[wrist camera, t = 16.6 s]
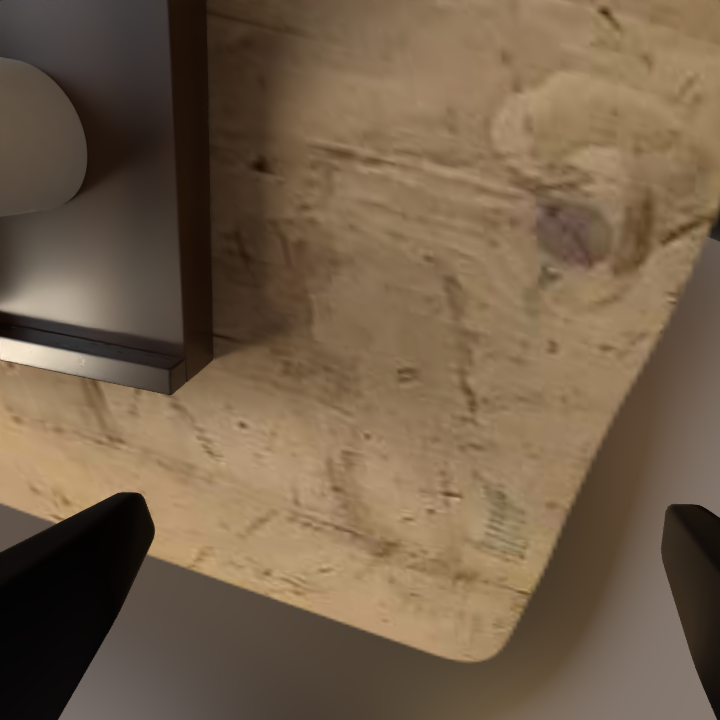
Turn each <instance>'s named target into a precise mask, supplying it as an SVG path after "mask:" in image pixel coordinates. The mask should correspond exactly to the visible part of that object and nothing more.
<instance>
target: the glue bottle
mask: <svg viewBox="0 0 720 720" xmlns="http://www.w3.org/2000/svg"><path fill="white" fill-rule="evenodd" d="M86 168H87V145H86V138H85V134H84V130H83V127H82V124H81V121H80V119H79V116H78V114H77V112H76V110H75V108H74V106H73V105H72V103H71V101H70V100H69V98H68V97H67V96H66V94H65V93H64V92H63V90H62V89H61V88H60V87H59V86H58V85H57V84H56V82H54V81H53V80H52V79H51V78H50V77H49V76H48V75H46V74H45V73H44V72H42V71H41V70H39V69H38V68H36V67H34V66H32V65H30V64H28V63H25V62H22V61H18V60H14V59H8V58H3V57H0V217H2V216H8V215H15V214H21V213H27V212H33V211H40V210H46V209H51V208H56V207H59V206H61V205H63V204H65V203H66V202H68V201H69V200H70V199H71V198H72V197H74V196H75V194H76V193H77V192H78V190H79V189H80V187H81V185H82V183H83V180H84V177H85V173H86Z"/></svg>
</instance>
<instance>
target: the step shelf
mask: <svg viewBox="0 0 720 720" xmlns="http://www.w3.org/2000/svg"><path fill="white" fill-rule="evenodd" d="M0 57H3V58H8V59H14V60H18V61H22V62H25V63H28V64H30V65H32V66H34V67H36V68H38V69H39V70H41V71H42V72H44V73H45V74H46V75H48V76H49V77H50V78H51V79H52V80H53V81H54V82H56V84H57V85H58V86H59V87H60V88H61V89H62V90H63V92H64V93H65V94H66V96H67V97H68V98H69V100H70V101H71V103H72V105H73V106H74V108H75V110H76V112H77V114H78V116H79V119H80V121H81V124H82V127H83V130H84V134H85V138H86V145H87V168H86V173H85V177H84V180H83V183H82V185H81V187H80V189H79V190H78V192H77V193H76V194H75V196H74V197H72V198H71V199H70V200H69V201H68V202H66V203H65V204H63V205H61V206H59V207H56V208H51V209H46V210H40V211H33V212H27V213H21V214H15V215H8V216H2V217H0V360H2V361H7V362H11V363H16V364H21V365H26V366H31V367H36V368H40V369H45V370H50V371H55V372H60V373H65V374H70V375H74V376H79V377H84V378H89V379H94V380H99V381H104V382H108V383H113V384H118V385H123V386H128V387H133V388H138V389H142V390H147V391H152V392H157V393H162V394H167V395H172V394H174V393H175V392H176V391H177V390H178V389H179V388H181V387H182V386H183V385H184V384H185V383H186V382H188V381H189V380H190V379H191V378H193V377H194V376H195V375H196V374H197V373H198V372H200V371H201V370H202V369H203V368H204V367H205V366H207V365H208V364H209V363H210V362H211V361H213V324H212V274H211V223H210V172H209V122H208V71H207V21H206V0H0Z"/></svg>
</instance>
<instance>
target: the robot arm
mask: <svg viewBox="0 0 720 720" xmlns="http://www.w3.org/2000/svg"><path fill="white" fill-rule="evenodd" d="M154 535H155V527H154V523H153V521H152V518H151V515H150V512H149V510H148V507H147V504H146V501H145V499H144V497H143V496H142V495H141V494H139V493H135V492H121V493H117V494H115V495H113V496H111V497H109V498H107V499H105V500H103V501H101V502H99V503H97V504H95V505H93V506H91V507H89V508H87V509H85V510H83V511H81V512H79V513H77V514H75V515H73V516H71V517H69V518H67V519H65V520H63V521H61V522H59V523H58V524H56V525H54V526H52V527H50V528H48V529H46V530H44V531H42V532H40V533H38V534H36V535H34V536H32V537H30V538H28V539H26V540H24V541H22V542H20V543H18V544H16V545H14V546H12V547H10V548H8V549H6V550H4V551H2V552H0V720H58V719H59V717H60V715H61V713H62V712H63V710H64V708H65V707H66V705H67V703H68V701H69V700H70V698H71V696H72V694H73V693H74V691H75V689H76V688H77V686H78V684H79V682H80V681H81V679H82V677H83V675H84V674H85V672H86V670H87V668H88V667H89V665H90V663H91V661H92V660H93V658H94V656H95V654H96V653H97V651H98V649H99V648H100V646H101V644H102V642H103V641H104V639H105V637H106V635H107V634H108V632H109V630H110V628H111V626H112V625H113V623H114V621H115V619H116V618H117V615H118V613H119V612H120V610H121V608H122V606H123V604H124V601H125V599H126V597H127V595H128V593H129V590H130V588H131V586H132V584H133V582H134V580H135V578H136V576H137V573H138V571H139V569H140V567H141V565H142V563H143V561H144V558H145V556H146V554H147V552H148V550H149V548H150V546H151V543H152V541H153V539H154ZM661 553H662V560H663V564H664V567H665V571H666V574H667V578H668V581H669V584H670V587H671V591H672V594H673V597H674V601H675V604H676V607H677V610H678V614H679V617H680V620H681V624H682V627H683V630H684V633H685V637H686V640H687V643H688V646H689V650H690V653H691V656H692V659H693V662H694V665H695V668H696V670H697V673H698V675H699V678H700V680H701V683H702V686H703V688H704V690H705V693H706V695H707V697H708V700H709V702H710V704H711V707H712V709H713V711H714V714H715V716H716V718H717V720H720V518H719V517H718V516H716V515H715V514H713V513H712V512H710V511H709V510H707V509H706V508H704V507H702V506H700V505H693V504H671V505H670V506H668V508H667V510H666V513H665V521H664V529H663V537H662V545H661Z"/></svg>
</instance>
